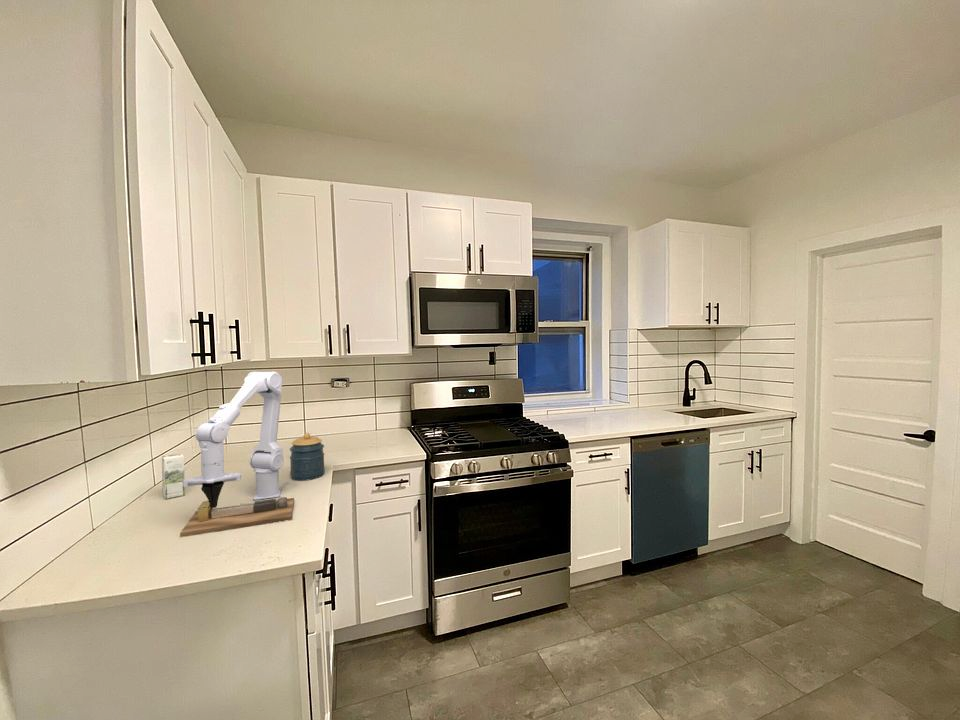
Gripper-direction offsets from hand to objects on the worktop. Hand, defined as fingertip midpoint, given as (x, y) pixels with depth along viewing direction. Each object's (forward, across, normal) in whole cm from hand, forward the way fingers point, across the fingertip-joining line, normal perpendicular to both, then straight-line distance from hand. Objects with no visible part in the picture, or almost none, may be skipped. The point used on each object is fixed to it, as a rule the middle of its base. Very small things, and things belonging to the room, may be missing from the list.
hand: (213, 506), depth 122 cm
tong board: (+4, +8, -1) cm, 9 cm away
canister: (+4, +26, +35) cm, 44 cm away
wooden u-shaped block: (+3, -2, 0) cm, 4 cm away
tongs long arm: (+3, +8, -1) cm, 9 cm away
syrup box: (+4, -18, +30) cm, 36 cm away
